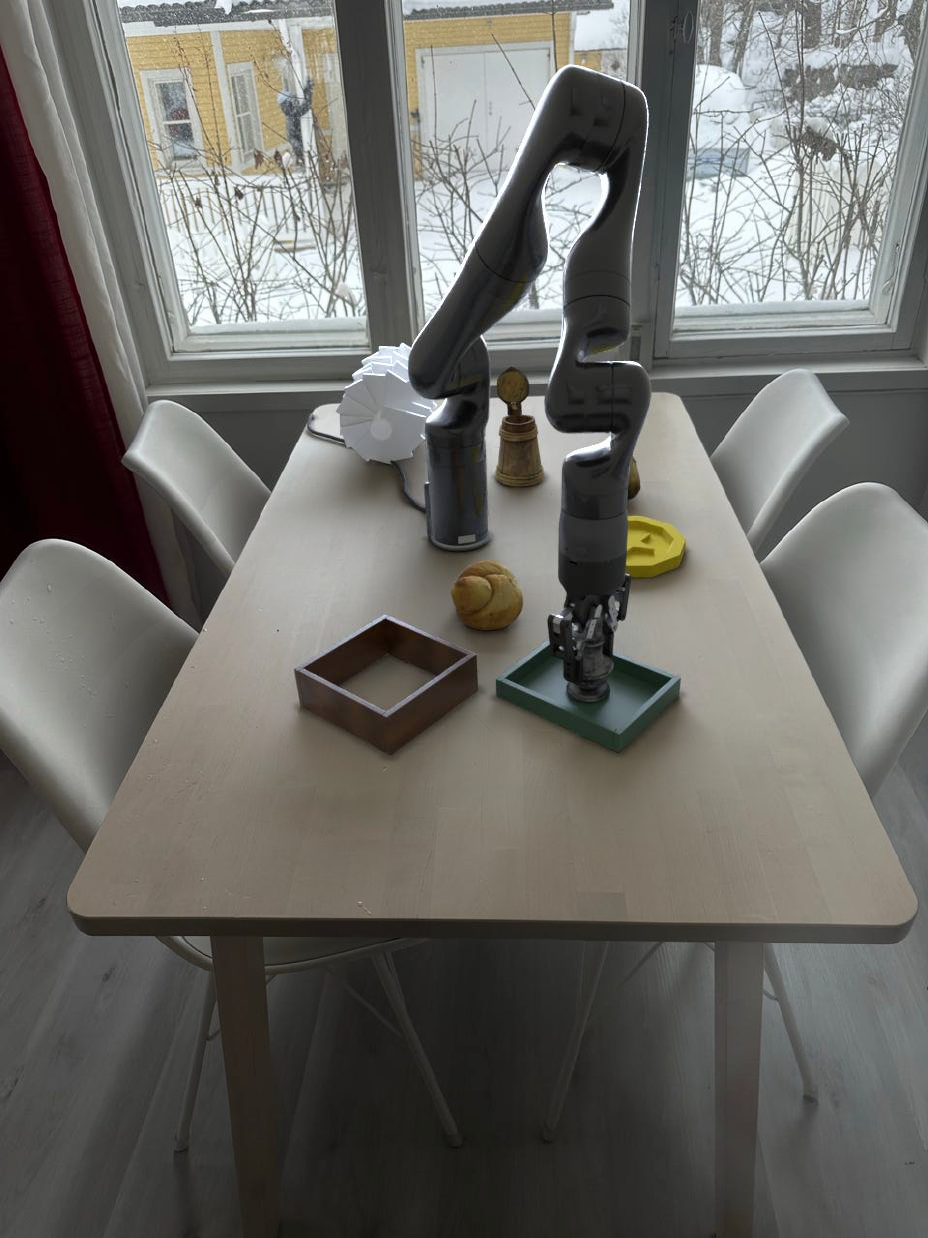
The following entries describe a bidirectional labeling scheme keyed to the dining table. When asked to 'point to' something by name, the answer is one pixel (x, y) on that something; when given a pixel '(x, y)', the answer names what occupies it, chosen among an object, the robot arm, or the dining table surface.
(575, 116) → the robot arm
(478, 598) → the bread roll
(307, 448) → the dining table surface
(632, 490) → the potato
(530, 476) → the wooden mug
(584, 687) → the salt shaker
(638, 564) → the decorative disc
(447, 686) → the open box
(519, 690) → the tray
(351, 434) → the spiral staircase
